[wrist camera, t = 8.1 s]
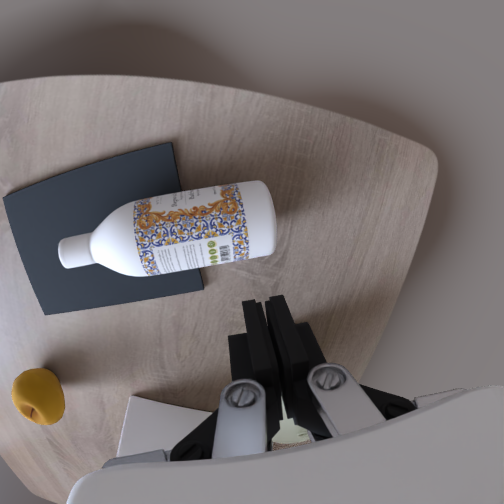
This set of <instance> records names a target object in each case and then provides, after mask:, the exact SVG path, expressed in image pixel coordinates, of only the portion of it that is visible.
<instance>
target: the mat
mask: <svg viewBox="0 0 504 504" xmlns="http://www.w3.org/2000/svg"><path fill="white" fill-rule="evenodd" d="M177 192H182V191H181V186H180V181H179V176H178V171H177V166H176V161H175V156H174V151H173V146H172V142H169V143H165V144H161V145H157V146H153V147H149V148H145V149H141V150H137V151H134V152H130V153H126V154H123V155H119V156H116V157H112V158H109V159H106V160H102V161H99V162H96V163H93V164H90V165H86V166H83V167H80V168H77V169H74V170H72V171H69V172H66V173H63V174H60V175H57V176H55V177H52V178H49V179H47V180H44V181H41V182H39V183H36V184H34V185H31V186H29V187H26V188H24V189H21V190H19V191H17V192H14V193H12V194H10V195H7V196H5V197H3V201H4V205H5V209H6V213H7V216H8V220H9V223H10V226H11V230H12V233H13V236H14V239H15V242H16V245H17V248H18V251H19V254H20V257H21V259H22V262H23V265H24V267H25V270H26V273H27V275H28V278H29V280H30V283H31V285H32V287H33V290H34V292H35V294H36V297H37V299H38V301H39V303H40V306H41V308H42V310H43V312H44V314H45V315H51V314H58V313H65V312H72V311H79V310H85V309H92V308H98V307H105V306H111V305H117V304H124V303H130V302H136V301H142V300H148V299H154V298H160V297H165V296H171V295H177V294H183V293H188V292H194V291H199V290H204V285H203V281H202V277H201V273H200V269H199V268H194V269H188V270H182V271H177V272H171V273H165V274H159V275H153V276H129V275H125V274H122V273H119V272H116V271H114V270H112V269H110V268H108V267H106V266H104V265H102V264H100V263H94V264H89V265H84V266H79V267H74V268H65V267H64V266H63V265H62V263H61V261H60V258H59V253H58V247H59V243H60V241H61V240H62V239H64V238H68V237H72V236H77V235H81V234H86V233H92V232H93V231H94V230H95V229H96V228H97V227H98V226H99V225H100V224H101V223H102V222H103V221H104V220H105V219H106V218H107V217H108V216H109V215H110V214H111V213H112V212H113V211H115V210H116V209H118V208H119V207H121V206H123V205H125V204H128V203H130V202H133V201H136V200H140V199H145V198H151V197H156V196H161V195H166V194H172V193H177Z"/></svg>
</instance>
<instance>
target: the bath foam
mask: <svg viewBox="0 0 504 504" xmlns="http://www.w3.org/2000/svg"><path fill="white" fill-rule="evenodd" d="M276 245H277V222H276V215H275V210H274V205H273V201H272V198H271V195H270V192H269V190H268V188H267V186H266V185H265V183H264V182H262V181H259V180H256V181H248V182H241V183H233V184H226V185H219V186H213V187H207V188H201V189H195V190H189V191H183V192H177V193H172V194H166V195H161V196H156V197H151V198H145V199H140V200H136V201H133V202H130V203H128V204H125V205H123V206H121V207H119V208H118V209H116V210H115V211H113V212H112V213H111V214H110V215H109V216H108V217H107V218H106V219H105V220H104V221H103V222H102V223H101V224H100V225H99V226H98V227H97V228H96V229H95V230H94V231H93V232H92V233H86V234H81V235H77V236H72V237H68V238H64V239H62V240H61V241H60V243H59V247H58V253H59V258H60V261H61V263H62V265H63V266H64V267H65V268H74V267H79V266H84V265H89V264H94V263H100V264H102V265H104V266H106V267H108V268H110V269H112V270H114V271H116V272H119V273H122V274H125V275H129V276H153V275H159V274H165V273H171V272H177V271H182V270H188V269H194V268H200V267H205V266H211V265H217V264H222V263H228V262H234V261H239V260H245V259H250V258H255V257H261V256H266V255H270V254H272V253H273V252H274V251H275V249H276Z"/></svg>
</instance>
